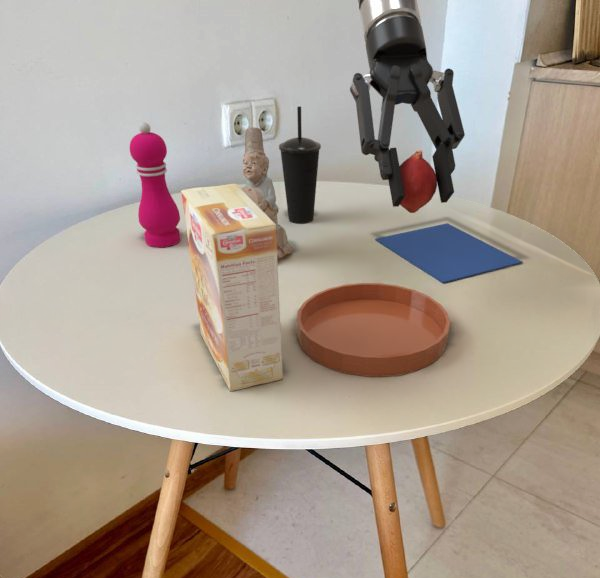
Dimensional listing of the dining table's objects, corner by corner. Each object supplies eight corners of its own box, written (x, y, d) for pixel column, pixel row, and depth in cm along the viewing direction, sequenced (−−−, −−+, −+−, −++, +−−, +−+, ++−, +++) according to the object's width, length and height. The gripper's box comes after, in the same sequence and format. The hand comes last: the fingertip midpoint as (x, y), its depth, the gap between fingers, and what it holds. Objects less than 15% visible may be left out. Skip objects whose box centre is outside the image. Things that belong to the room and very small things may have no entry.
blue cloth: (522, 263, 97) (522, 261, 97) (443, 283, 92) (443, 281, 92) (447, 224, 112) (447, 223, 112) (375, 240, 106) (375, 238, 106)
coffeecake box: (199, 333, 81) (178, 189, 69) (248, 323, 83) (237, 181, 71) (228, 393, 70) (210, 233, 58) (285, 380, 72) (278, 222, 60)
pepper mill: (157, 231, 111) (138, 116, 99) (190, 236, 109) (175, 119, 97) (135, 245, 106) (111, 125, 94) (169, 251, 104) (149, 129, 92)
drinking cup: (302, 209, 120) (300, 100, 108) (328, 219, 115) (330, 106, 103) (273, 219, 116) (268, 107, 104) (299, 229, 111) (297, 113, 99)
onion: (384, 217, 78) (389, 154, 73) (395, 203, 82) (400, 142, 78) (428, 222, 76) (436, 157, 72) (437, 207, 81) (444, 146, 76)
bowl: (478, 351, 76) (482, 332, 74) (343, 393, 69) (344, 373, 68) (392, 289, 91) (394, 272, 89) (273, 319, 84) (273, 301, 82)
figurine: (258, 242, 106) (251, 122, 94) (300, 250, 103) (297, 127, 91) (231, 260, 100) (219, 134, 88) (274, 270, 97) (268, 140, 85)
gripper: (450, 52, 83) (480, 207, 80) (319, 58, 80) (345, 219, 77) (471, 9, 75) (506, 178, 72) (328, 15, 73) (357, 190, 70)
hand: (423, 199), depth 75 cm, fingers closed on onion, 6 cm apart
